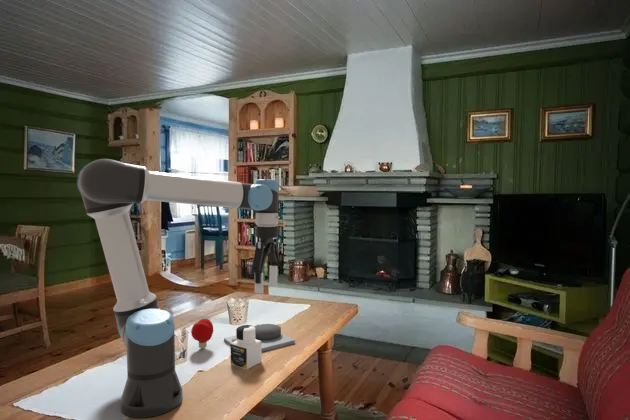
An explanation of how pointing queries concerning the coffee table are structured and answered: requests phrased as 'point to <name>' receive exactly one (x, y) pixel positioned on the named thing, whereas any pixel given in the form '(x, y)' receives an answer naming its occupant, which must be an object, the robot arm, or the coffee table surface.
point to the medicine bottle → (246, 348)
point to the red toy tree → (202, 332)
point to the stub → (267, 332)
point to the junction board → (268, 342)
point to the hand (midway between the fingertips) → (266, 288)
